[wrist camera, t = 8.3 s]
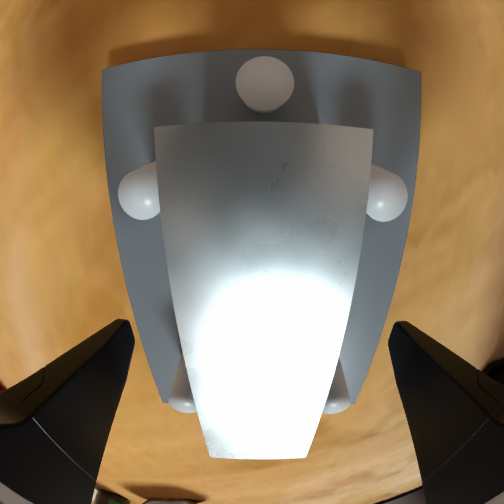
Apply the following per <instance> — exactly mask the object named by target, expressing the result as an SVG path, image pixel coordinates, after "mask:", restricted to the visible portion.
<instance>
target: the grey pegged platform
mask: <svg viewBox="0 0 504 504" xmlns="http://www.w3.org/2000/svg"><path fill="white" fill-rule="evenodd" d="M102 112H103V134H104V148H105V160H106V170H107V179H108V188H109V195H110V203H111V210H112V216H113V222H114V228H115V234H116V239H117V245H118V250H119V255H120V260H121V265H122V269H123V274H124V278H125V282H126V287H127V291H128V295H129V299H130V303H131V306H132V310H133V314H134V317H135V321H136V325H137V328H138V331H139V335H140V338H141V341H142V345H143V348H144V351H145V354H146V357H147V360H148V363H149V366H150V369H151V372H152V375H153V378H154V381H155V383H156V386H157V389H158V391H159V394H160V397H161V399H162V402H163V403H169V405H170V406H171V407H172V408H174V409H175V410H177V411H180V412H184V413H194V412H197V409H196V406H195V402H194V398H193V394H192V390H191V386H190V382H189V378H188V373H187V369H186V365H185V360H184V356H183V351H182V346H181V342H180V337H179V332H178V327H177V321H176V316H175V311H174V305H173V300H172V294H171V288H170V282H169V275H168V269H167V262H166V255H165V248H164V240H163V232H162V224H161V215H160V205H159V195H158V184H157V172H156V157H155V140H154V127H160V126H170V125H181V124H195V123H213V122H296V123H314V124H328V125H339V126H349V127H358V128H366V129H373V147H372V162H371V174H370V185H369V194H368V203H367V212H366V219H365V227H364V234H363V241H362V247H361V253H360V259H359V265H358V271H357V276H356V282H355V287H354V292H353V297H352V302H351V306H350V311H349V315H348V320H347V324H346V328H345V333H344V337H343V341H342V345H341V349H340V353H339V356H338V360H337V364H336V367H335V371H334V375H333V378H332V382H331V385H330V388H329V392H328V395H327V398H326V401H325V404H324V408H323V411H322V412H323V413H326V414H335V413H339V412H341V411H344V410H345V409H347V408H348V407H349V406H350V404H355V402H356V399H357V397H358V395H359V392H360V390H361V387H362V385H363V383H364V380H365V378H366V375H367V372H368V370H369V367H370V364H371V362H372V359H373V356H374V354H375V351H376V348H377V345H378V342H379V339H380V336H381V333H382V330H383V327H384V324H385V321H386V317H387V314H388V311H389V307H390V304H391V300H392V297H393V293H394V289H395V285H396V282H397V278H398V274H399V269H400V265H401V261H402V256H403V252H404V247H405V242H406V237H407V232H408V227H409V221H410V215H411V209H412V203H413V196H414V189H415V181H416V173H417V163H418V152H419V139H420V119H421V72H419V71H416V70H412V69H408V68H404V67H400V66H396V65H392V64H387V63H383V62H378V61H373V60H368V59H362V58H357V57H350V56H344V55H337V54H329V53H319V52H309V51H295V50H273V49H240V50H218V51H204V52H193V53H184V54H176V55H169V56H162V57H156V58H150V59H145V60H140V61H135V62H130V63H125V64H121V65H117V66H112V67H108V68H105V69H102Z"/></svg>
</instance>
